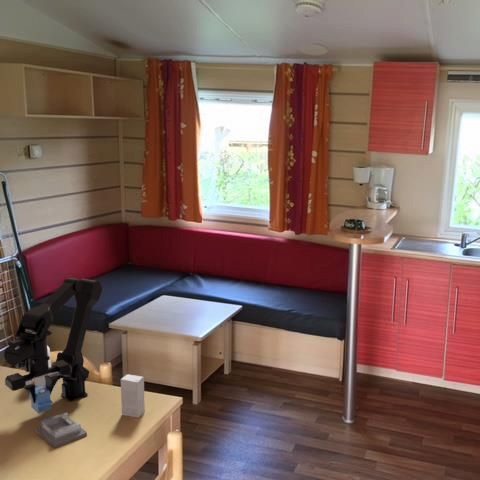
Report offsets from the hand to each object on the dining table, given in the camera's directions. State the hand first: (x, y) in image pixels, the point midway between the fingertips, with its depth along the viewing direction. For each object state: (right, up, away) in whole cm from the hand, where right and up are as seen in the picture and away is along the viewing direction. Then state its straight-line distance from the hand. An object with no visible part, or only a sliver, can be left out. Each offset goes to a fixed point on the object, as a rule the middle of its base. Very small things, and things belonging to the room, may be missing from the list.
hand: (40, 400), depth 181 cm
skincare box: (+28, -5, +4) cm, 28 cm away
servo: (0, -3, +1) cm, 3 cm away
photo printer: (-7, 0, +25) cm, 26 cm away
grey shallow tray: (+9, -7, -8) cm, 14 cm away
